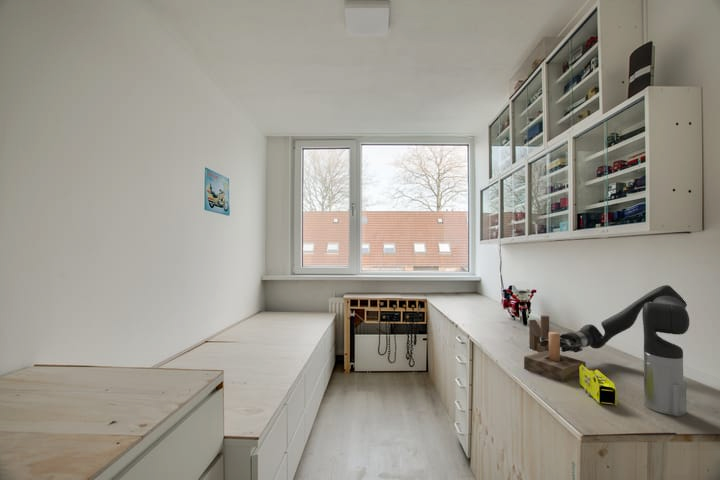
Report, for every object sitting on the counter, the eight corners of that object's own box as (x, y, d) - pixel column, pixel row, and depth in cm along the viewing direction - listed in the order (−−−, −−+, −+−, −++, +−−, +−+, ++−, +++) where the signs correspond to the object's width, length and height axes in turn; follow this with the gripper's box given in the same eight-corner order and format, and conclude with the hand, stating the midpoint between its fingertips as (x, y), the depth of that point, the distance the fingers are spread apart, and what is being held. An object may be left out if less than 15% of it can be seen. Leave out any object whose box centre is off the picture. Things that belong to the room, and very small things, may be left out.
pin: (562, 368, 135) (561, 333, 135) (556, 369, 133) (556, 334, 133) (552, 365, 138) (552, 331, 139) (546, 366, 136) (546, 332, 137)
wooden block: (535, 347, 168) (535, 312, 168) (551, 354, 157) (551, 316, 158) (529, 347, 167) (528, 312, 167) (545, 354, 157) (544, 316, 157)
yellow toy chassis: (578, 385, 122) (577, 362, 122) (595, 387, 121) (595, 364, 121) (597, 405, 107) (596, 379, 107) (617, 407, 105) (617, 381, 105)
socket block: (585, 374, 132) (585, 361, 132) (563, 382, 124) (563, 368, 124) (546, 362, 146) (546, 350, 146) (524, 368, 138) (524, 356, 138)
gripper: (591, 354, 136) (569, 360, 128) (556, 345, 149) (534, 350, 141) (591, 336, 136) (569, 341, 128) (556, 328, 149) (534, 333, 141)
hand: (551, 346), depth 135 cm, fingers open, 8 cm apart
